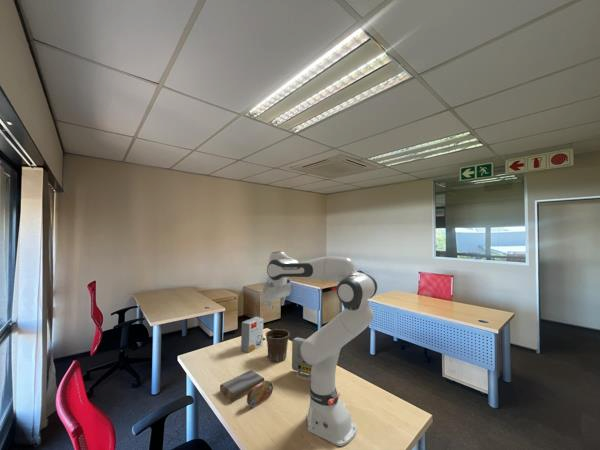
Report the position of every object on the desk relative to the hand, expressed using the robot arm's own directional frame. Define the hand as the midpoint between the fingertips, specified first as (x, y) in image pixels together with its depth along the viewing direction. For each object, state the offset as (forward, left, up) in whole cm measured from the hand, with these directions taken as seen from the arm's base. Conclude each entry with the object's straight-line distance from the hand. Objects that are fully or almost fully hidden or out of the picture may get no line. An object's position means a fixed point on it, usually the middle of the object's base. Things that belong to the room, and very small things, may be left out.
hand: (276, 307), depth 133 cm
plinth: (+14, +11, -44) cm, 48 cm away
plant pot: (+25, -24, -44) cm, 57 cm away
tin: (-1, +11, -44) cm, 46 cm away
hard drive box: (+49, -21, -44) cm, 70 cm away
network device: (-6, -24, -44) cm, 51 cm away
